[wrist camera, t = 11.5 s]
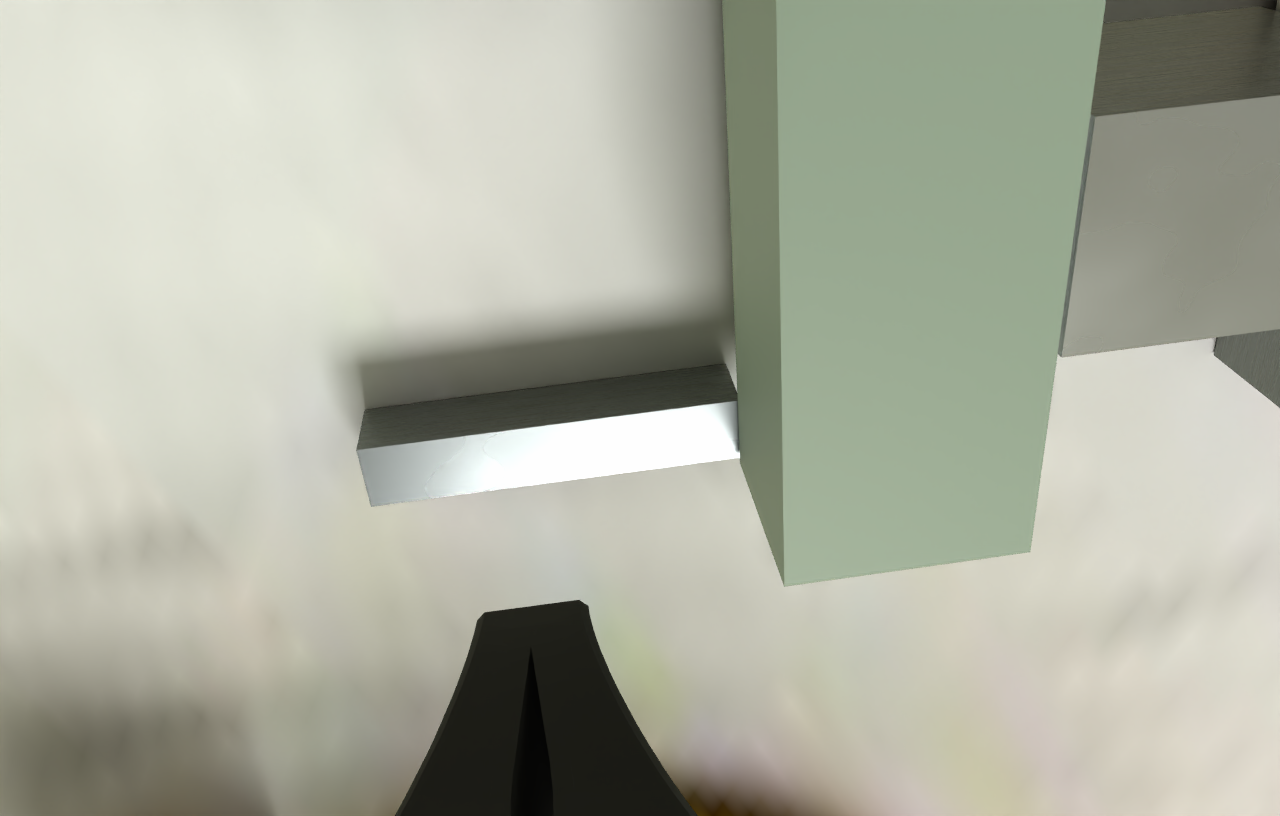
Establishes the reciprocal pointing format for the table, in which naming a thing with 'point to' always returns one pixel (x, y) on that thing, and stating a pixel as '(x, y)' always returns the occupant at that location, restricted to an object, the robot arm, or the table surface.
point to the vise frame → (606, 428)
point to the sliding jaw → (901, 268)
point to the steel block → (1179, 185)
